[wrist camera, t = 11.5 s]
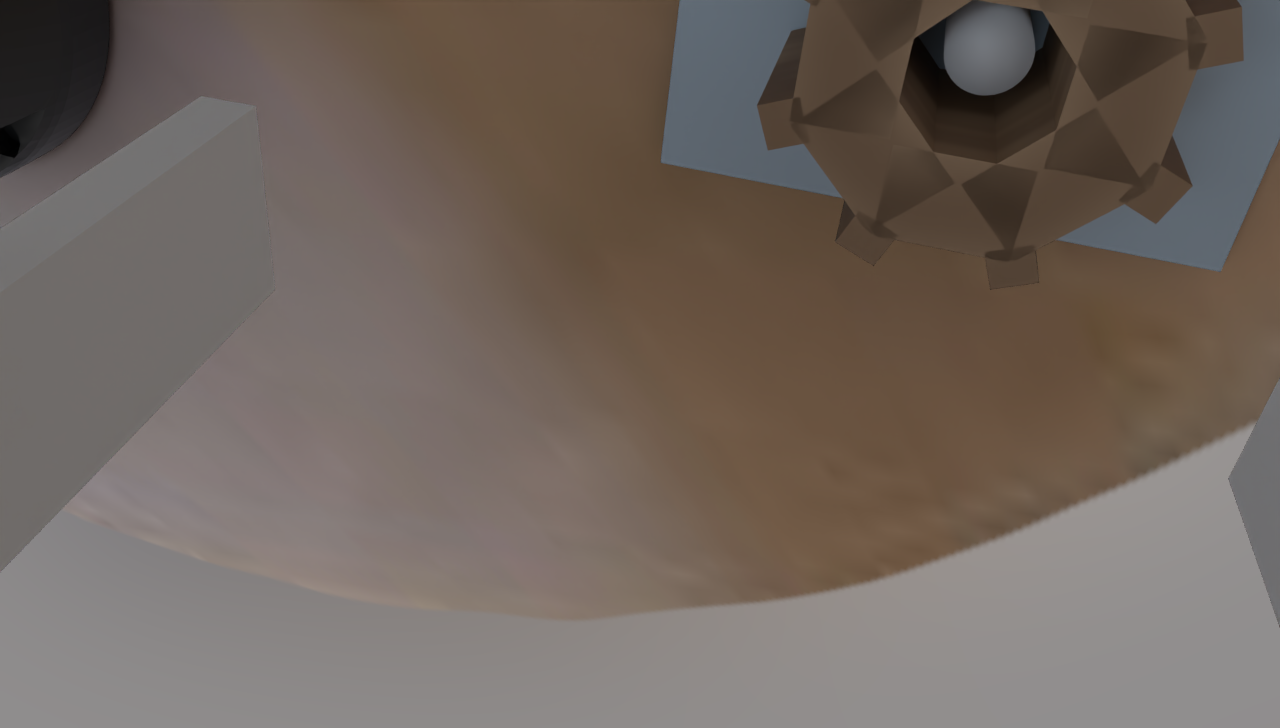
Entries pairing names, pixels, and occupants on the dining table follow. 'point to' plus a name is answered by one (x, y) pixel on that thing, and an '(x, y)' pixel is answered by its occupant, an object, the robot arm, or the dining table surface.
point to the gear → (994, 122)
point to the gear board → (1200, 132)
